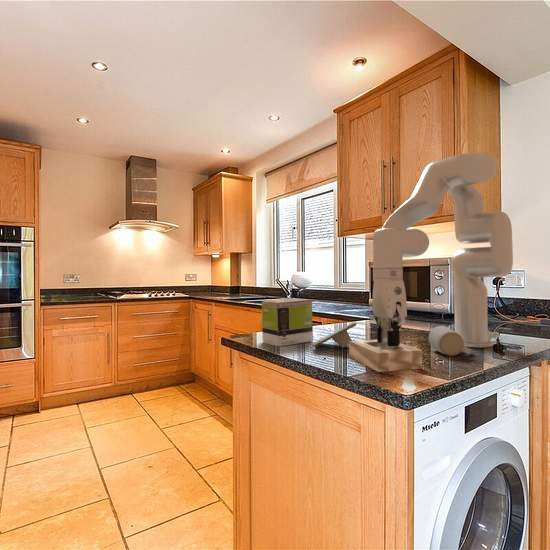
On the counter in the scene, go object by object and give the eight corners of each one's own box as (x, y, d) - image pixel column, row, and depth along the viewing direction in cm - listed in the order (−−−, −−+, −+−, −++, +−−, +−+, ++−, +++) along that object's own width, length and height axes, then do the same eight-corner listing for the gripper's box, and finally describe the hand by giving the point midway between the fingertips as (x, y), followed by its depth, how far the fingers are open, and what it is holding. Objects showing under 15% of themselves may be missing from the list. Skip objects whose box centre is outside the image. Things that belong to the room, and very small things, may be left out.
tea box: (295, 337, 134) (295, 297, 133) (313, 342, 125) (313, 299, 125) (261, 342, 125) (261, 299, 125) (277, 347, 117) (277, 301, 117)
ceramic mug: (439, 357, 102) (440, 329, 102) (427, 350, 110) (428, 325, 110) (477, 357, 101) (478, 330, 101) (463, 351, 110) (463, 325, 110)
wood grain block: (386, 352, 99) (386, 315, 99) (395, 355, 94) (395, 317, 94) (371, 353, 98) (371, 316, 98) (380, 356, 93) (379, 317, 93)
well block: (387, 354, 105) (387, 339, 105) (422, 368, 90) (422, 350, 90) (349, 357, 102) (349, 341, 102) (378, 371, 87) (378, 353, 87)
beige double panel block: (332, 368, 106) (370, 334, 106) (312, 345, 108) (349, 311, 108) (329, 363, 122) (363, 333, 122) (312, 343, 124) (345, 314, 124)
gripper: (419, 275, 89) (420, 349, 89) (383, 275, 105) (384, 337, 105) (392, 275, 87) (392, 351, 87) (360, 275, 104) (360, 339, 104)
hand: (388, 343), depth 96 cm, fingers closed on wood grain block, 4 cm apart
